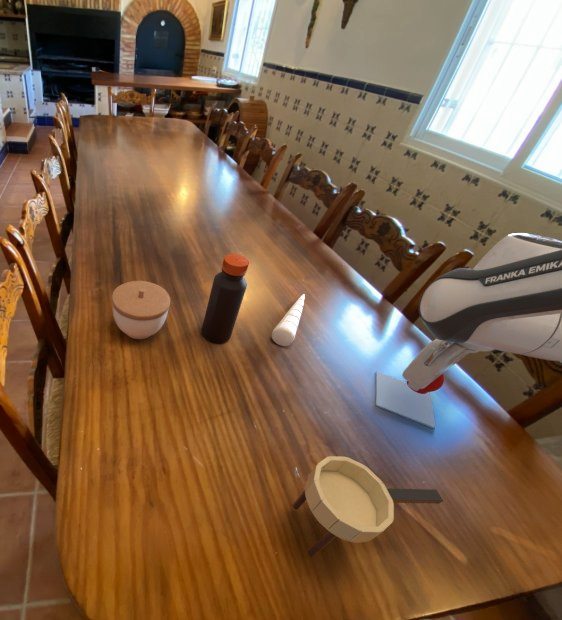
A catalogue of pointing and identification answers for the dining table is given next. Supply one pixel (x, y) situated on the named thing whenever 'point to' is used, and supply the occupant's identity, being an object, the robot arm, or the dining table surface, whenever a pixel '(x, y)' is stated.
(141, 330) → the lidded bowl
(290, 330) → the unicorn horn
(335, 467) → the pan
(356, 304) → the dining table surface
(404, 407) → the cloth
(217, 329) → the bottle
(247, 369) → the dining table surface
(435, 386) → the tomato
